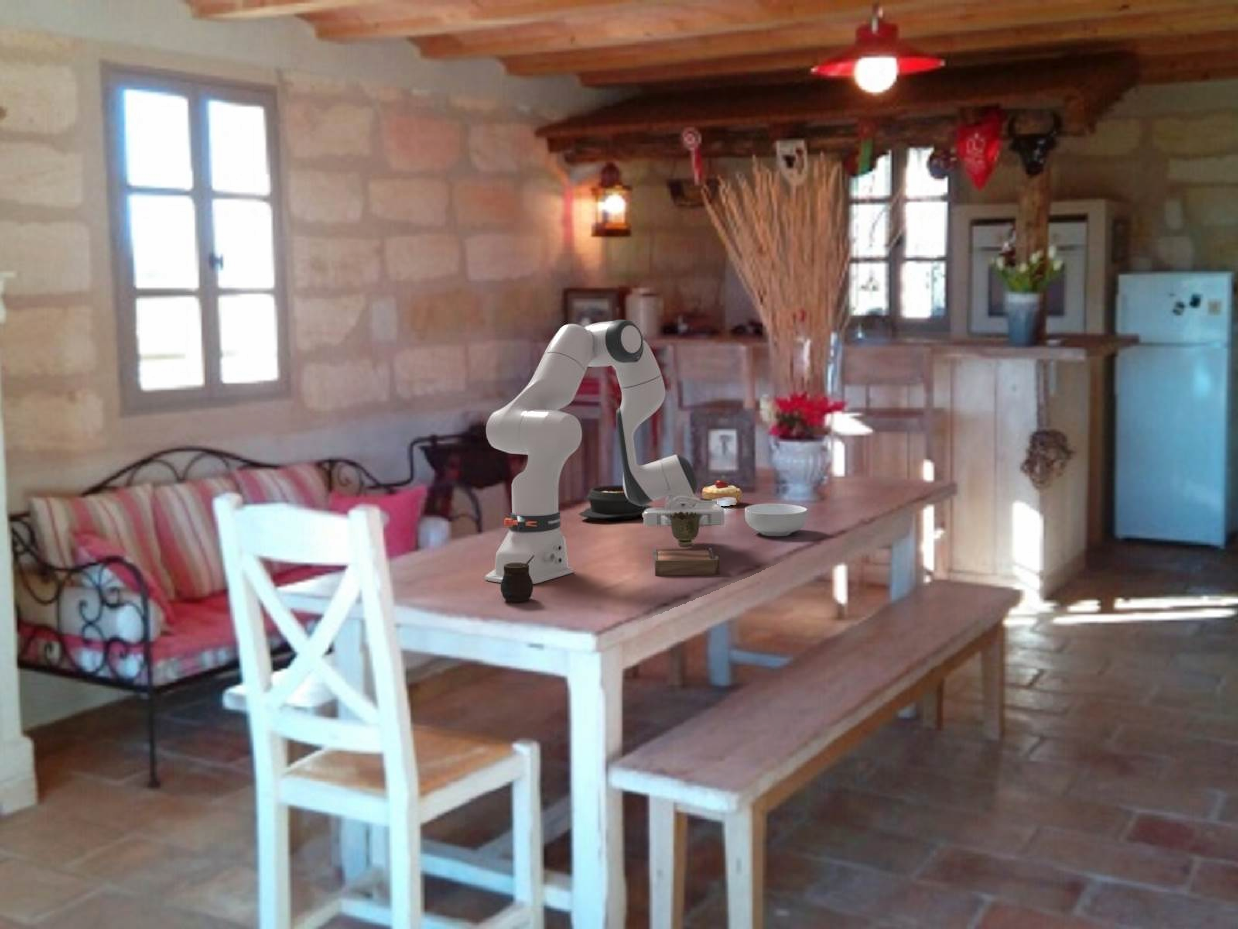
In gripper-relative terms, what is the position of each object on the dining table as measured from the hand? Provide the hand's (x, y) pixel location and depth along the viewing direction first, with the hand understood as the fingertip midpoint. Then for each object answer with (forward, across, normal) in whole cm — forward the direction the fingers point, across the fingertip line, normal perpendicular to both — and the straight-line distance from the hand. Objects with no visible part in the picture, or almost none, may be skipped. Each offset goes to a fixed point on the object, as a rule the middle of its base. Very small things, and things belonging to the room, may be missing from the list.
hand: (684, 522), depth 344 cm
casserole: (-67, -18, +11) cm, 70 cm away
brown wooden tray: (-1, 0, +10) cm, 10 cm away
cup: (-1, 0, +6) cm, 6 cm away
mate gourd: (+38, -38, +10) cm, 55 cm away
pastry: (-86, +14, +11) cm, 87 cm away
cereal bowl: (-36, +26, +10) cm, 46 cm away
